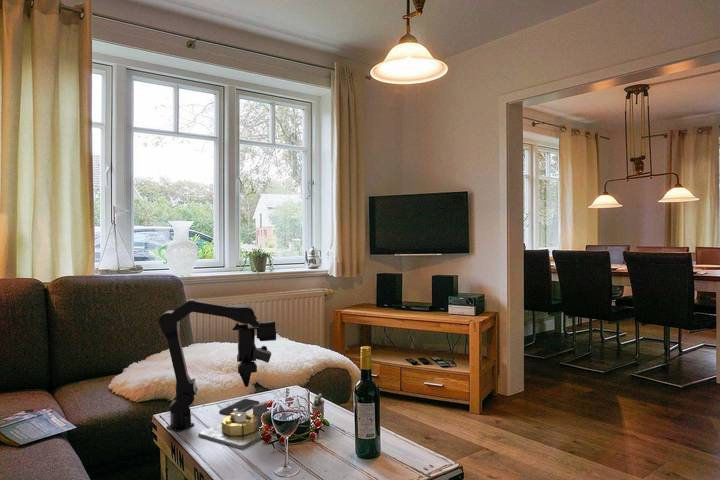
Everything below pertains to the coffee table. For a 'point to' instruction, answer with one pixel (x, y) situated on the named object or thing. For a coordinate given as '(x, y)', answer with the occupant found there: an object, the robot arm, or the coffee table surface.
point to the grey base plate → (232, 440)
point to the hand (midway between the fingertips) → (246, 386)
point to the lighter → (318, 405)
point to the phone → (239, 406)
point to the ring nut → (245, 421)
